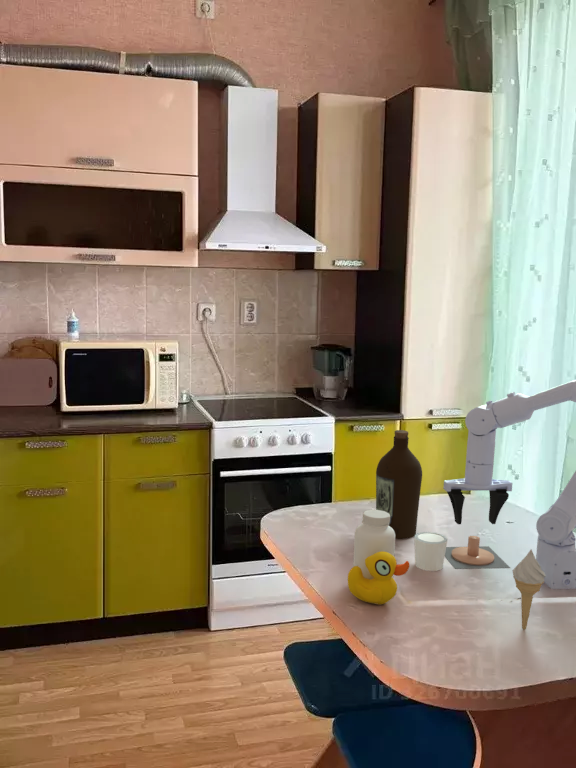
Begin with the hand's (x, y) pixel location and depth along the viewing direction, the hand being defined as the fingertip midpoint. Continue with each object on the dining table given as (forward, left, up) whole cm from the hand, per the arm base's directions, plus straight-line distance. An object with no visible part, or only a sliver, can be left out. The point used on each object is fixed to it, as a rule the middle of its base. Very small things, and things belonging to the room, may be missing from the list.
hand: (475, 522), depth 162 cm
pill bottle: (-12, +25, -9) cm, 29 cm away
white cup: (-4, +11, -9) cm, 15 cm away
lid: (0, 0, -8) cm, 8 cm away
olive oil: (+16, +13, -9) cm, 22 cm away
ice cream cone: (-31, +2, -9) cm, 32 cm away
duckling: (-19, +26, -9) cm, 33 cm away
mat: (0, 0, -9) cm, 9 cm away
